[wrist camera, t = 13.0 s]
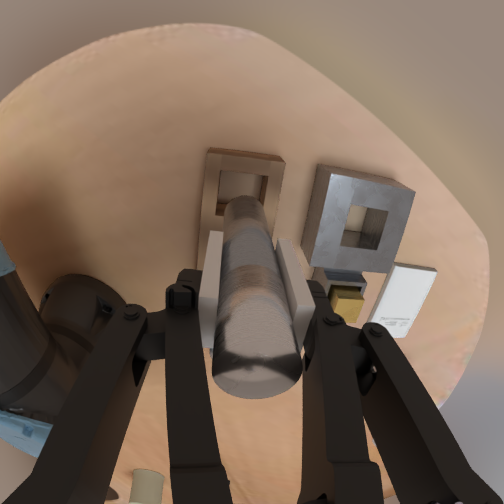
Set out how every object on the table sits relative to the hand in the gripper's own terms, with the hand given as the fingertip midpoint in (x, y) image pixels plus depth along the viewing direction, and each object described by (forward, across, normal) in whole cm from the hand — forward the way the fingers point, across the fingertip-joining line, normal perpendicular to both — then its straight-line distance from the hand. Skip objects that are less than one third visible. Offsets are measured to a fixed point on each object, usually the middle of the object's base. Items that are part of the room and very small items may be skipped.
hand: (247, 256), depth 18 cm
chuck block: (+17, +13, -5) cm, 22 cm away
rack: (+17, 0, -4) cm, 17 cm away
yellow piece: (+15, +13, -10) cm, 23 cm away
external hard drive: (+17, +25, -14) cm, 33 cm away
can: (+17, -17, -82) cm, 86 cm away
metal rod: (+7, 0, 0) cm, 7 cm away
